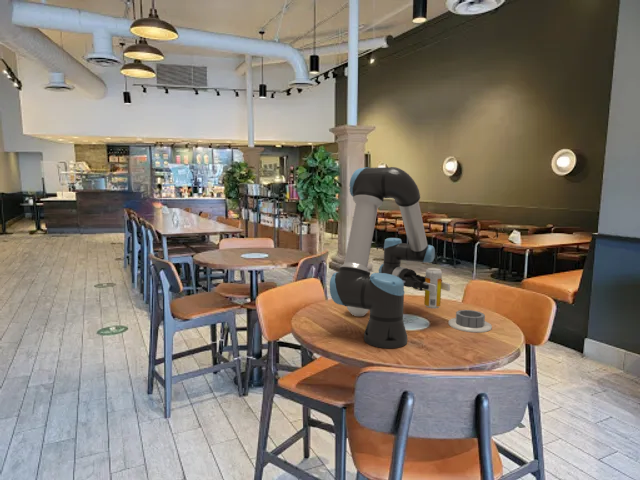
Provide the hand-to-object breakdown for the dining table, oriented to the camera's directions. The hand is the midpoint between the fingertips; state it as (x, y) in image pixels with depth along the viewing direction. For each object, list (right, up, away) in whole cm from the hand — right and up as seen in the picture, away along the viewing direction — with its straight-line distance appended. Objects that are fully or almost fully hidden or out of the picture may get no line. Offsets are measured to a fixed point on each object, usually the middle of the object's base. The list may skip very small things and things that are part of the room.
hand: (442, 288), depth 161 cm
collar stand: (+12, -15, +6) cm, 21 cm away
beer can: (-2, -8, +6) cm, 10 cm away
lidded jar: (-30, -14, +20) cm, 39 cm away
